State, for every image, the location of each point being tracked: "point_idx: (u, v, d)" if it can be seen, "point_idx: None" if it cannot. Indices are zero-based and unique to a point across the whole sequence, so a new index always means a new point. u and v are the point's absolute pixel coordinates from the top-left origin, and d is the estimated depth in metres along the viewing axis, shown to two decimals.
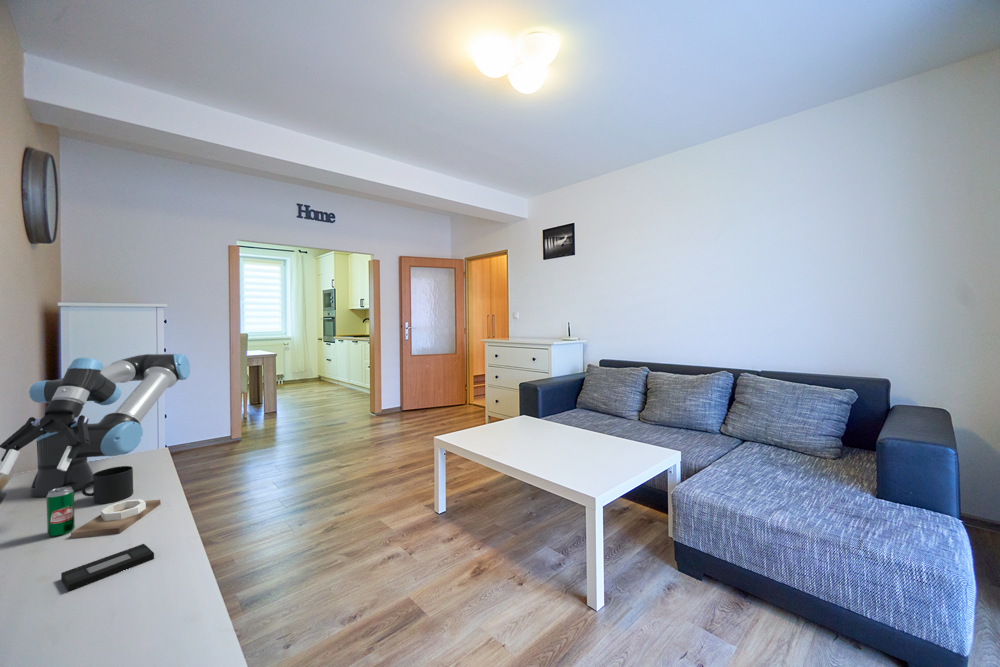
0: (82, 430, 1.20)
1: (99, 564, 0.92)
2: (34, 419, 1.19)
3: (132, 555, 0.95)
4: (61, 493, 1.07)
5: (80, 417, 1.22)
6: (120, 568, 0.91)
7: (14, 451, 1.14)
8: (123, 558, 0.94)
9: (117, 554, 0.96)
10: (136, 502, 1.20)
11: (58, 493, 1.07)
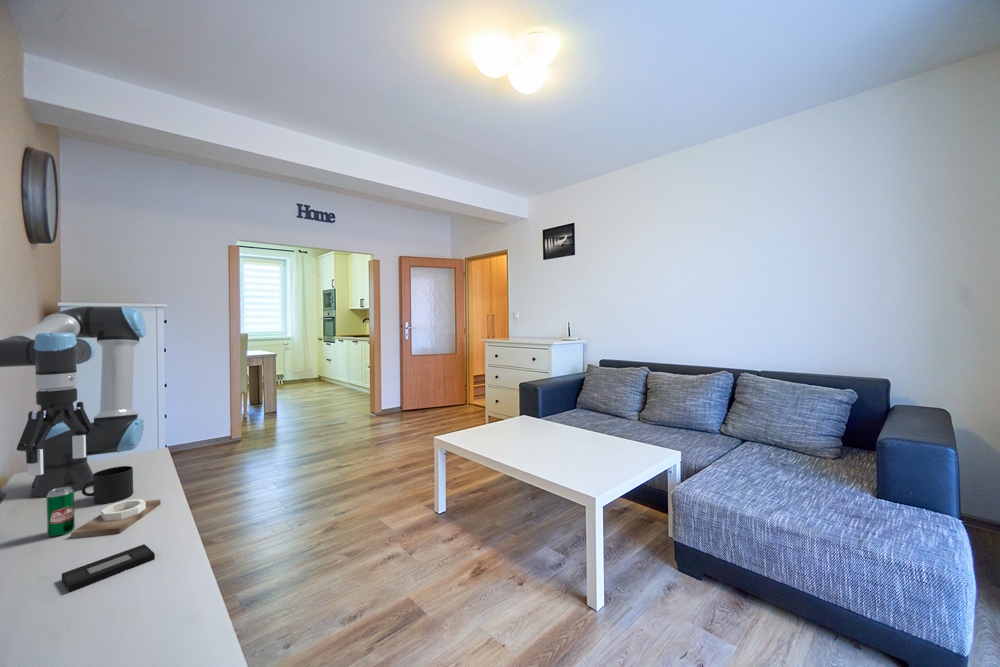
0: (87, 417, 1.16)
1: (99, 565, 0.92)
2: None
3: (132, 556, 0.95)
4: (61, 493, 1.07)
5: (81, 404, 1.14)
6: (121, 569, 0.91)
7: None
8: (124, 558, 0.94)
9: (118, 555, 0.95)
10: (136, 502, 1.20)
11: (58, 493, 1.07)
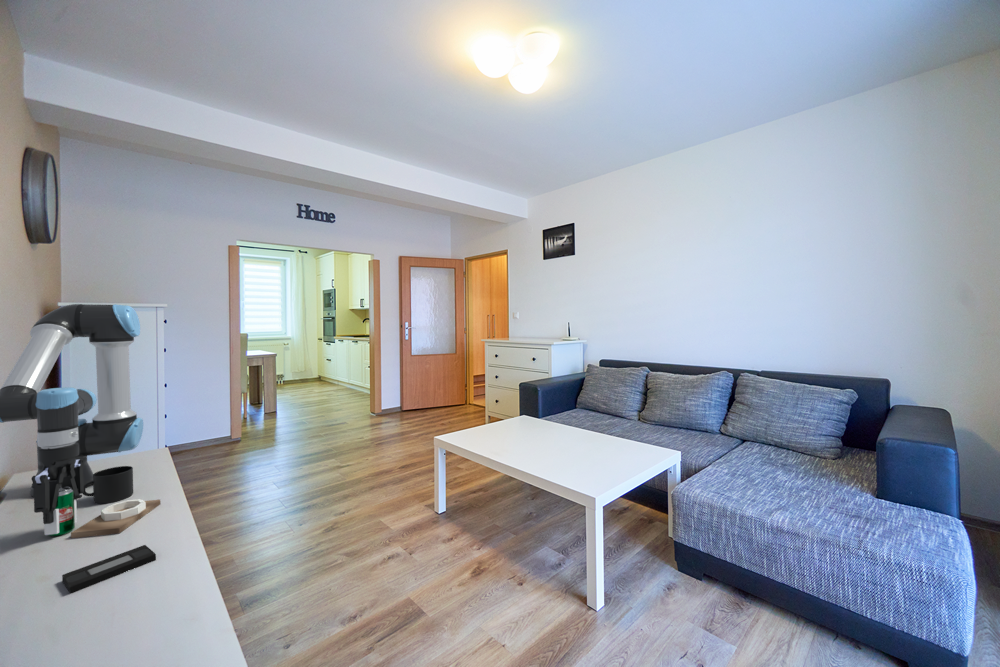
0: (82, 478, 1.14)
1: (100, 566, 0.91)
2: None
3: (133, 557, 0.95)
4: (61, 493, 1.07)
5: (82, 462, 1.14)
6: (122, 569, 0.91)
7: None
8: (125, 559, 0.94)
9: (118, 556, 0.95)
10: (136, 502, 1.20)
11: (58, 493, 1.07)
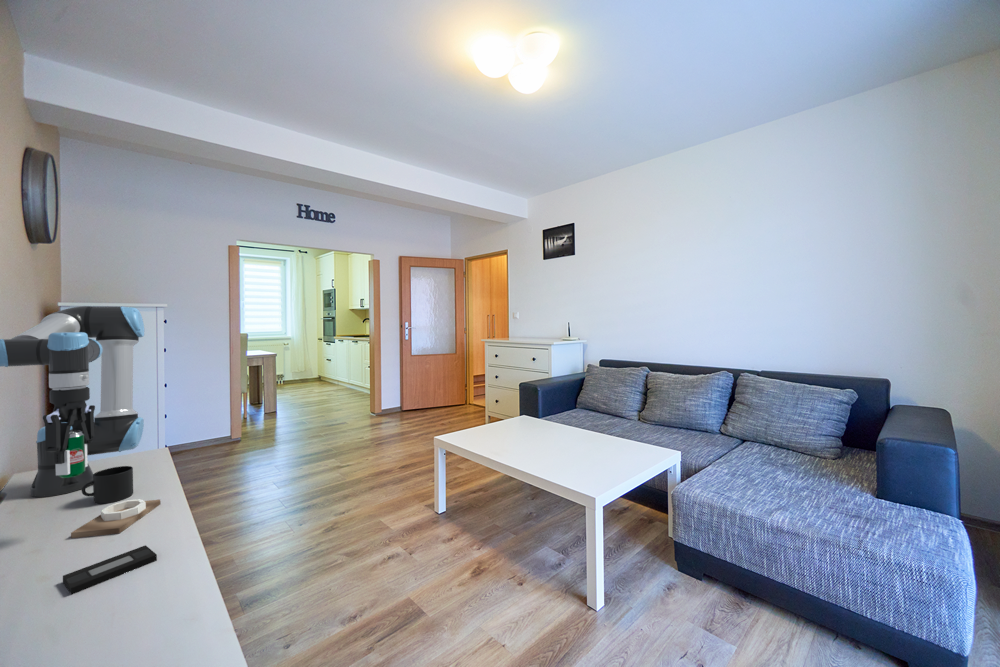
0: (93, 424, 1.15)
1: (100, 567, 0.91)
2: None
3: (134, 557, 0.95)
4: (72, 435, 1.08)
5: (93, 407, 1.15)
6: (123, 570, 0.91)
7: None
8: (125, 560, 0.94)
9: (119, 556, 0.95)
10: (136, 502, 1.20)
11: (69, 435, 1.08)
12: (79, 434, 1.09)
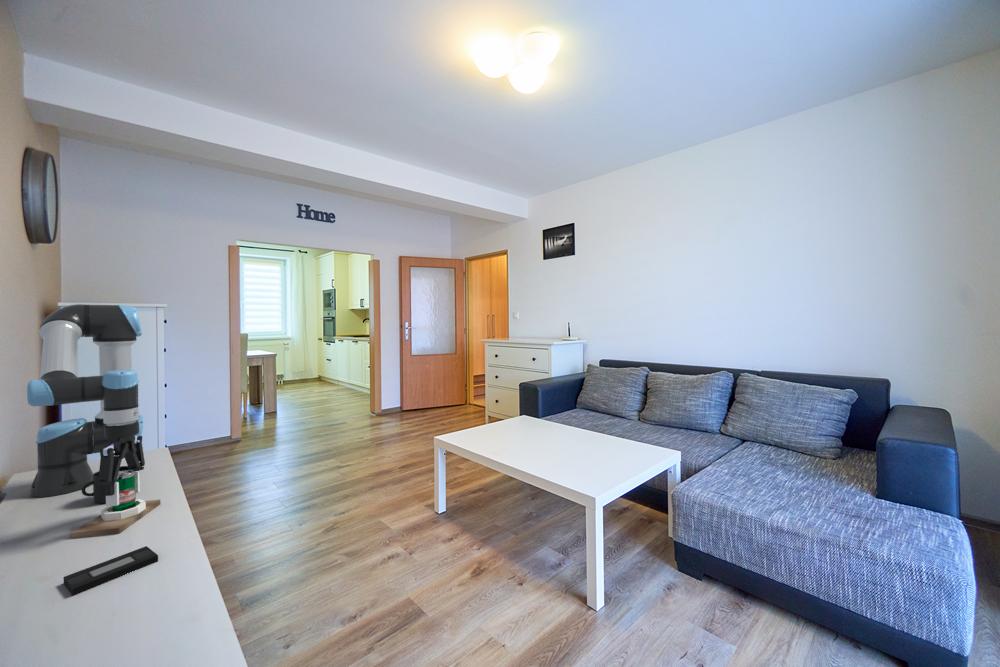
0: (142, 452, 1.23)
1: (102, 568, 0.91)
2: None
3: (135, 558, 0.94)
4: (125, 476, 1.15)
5: (141, 438, 1.22)
6: (124, 571, 0.90)
7: None
8: (127, 560, 0.93)
9: (120, 557, 0.94)
10: (136, 502, 1.20)
11: (123, 476, 1.15)
12: (132, 474, 1.17)
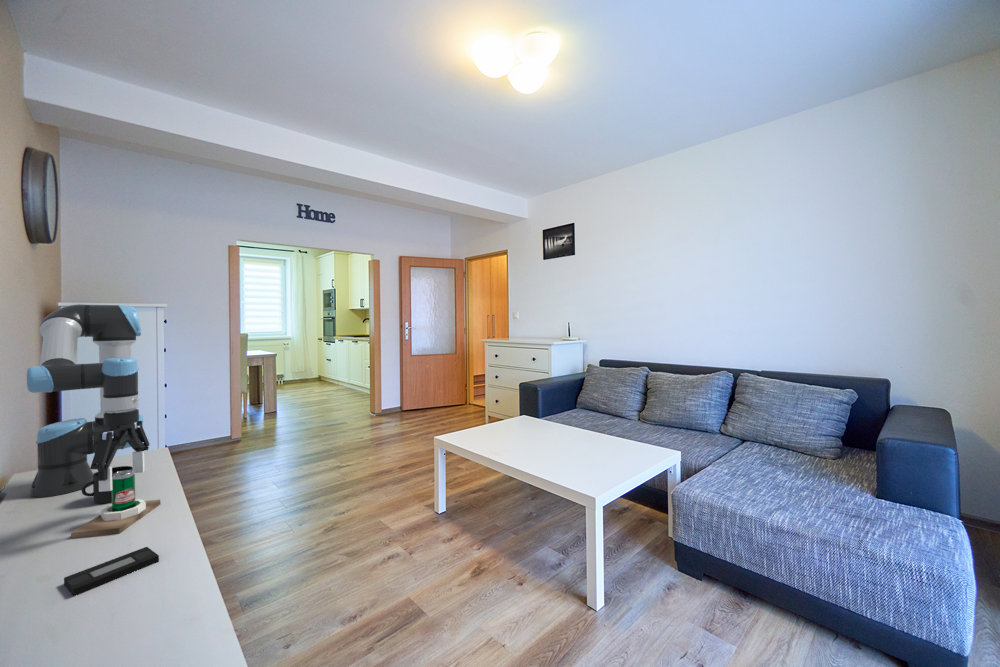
0: (145, 435, 1.25)
1: (102, 568, 0.90)
2: None
3: (136, 558, 0.94)
4: (124, 476, 1.15)
5: (140, 423, 1.22)
6: (125, 571, 0.90)
7: None
8: (127, 561, 0.93)
9: (120, 558, 0.94)
10: (136, 502, 1.20)
11: (121, 476, 1.15)
12: (130, 474, 1.17)
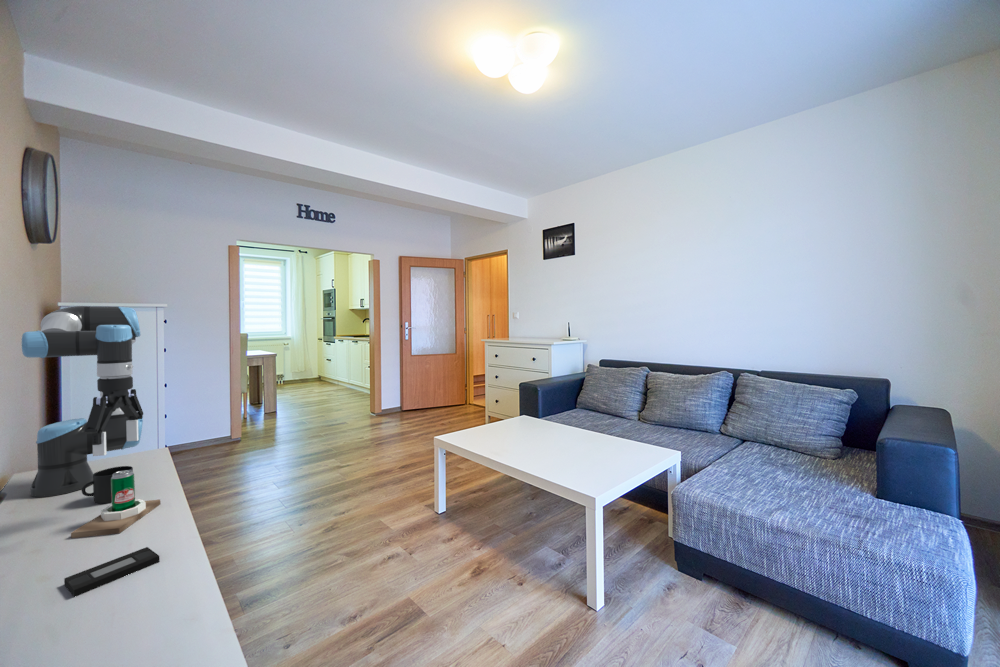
0: (139, 403, 1.25)
1: (103, 569, 0.90)
2: None
3: (136, 559, 0.94)
4: (123, 475, 1.15)
5: (134, 391, 1.23)
6: (126, 572, 0.90)
7: None
8: (128, 561, 0.93)
9: (121, 558, 0.94)
10: (136, 502, 1.20)
11: (121, 475, 1.15)
12: (130, 474, 1.17)
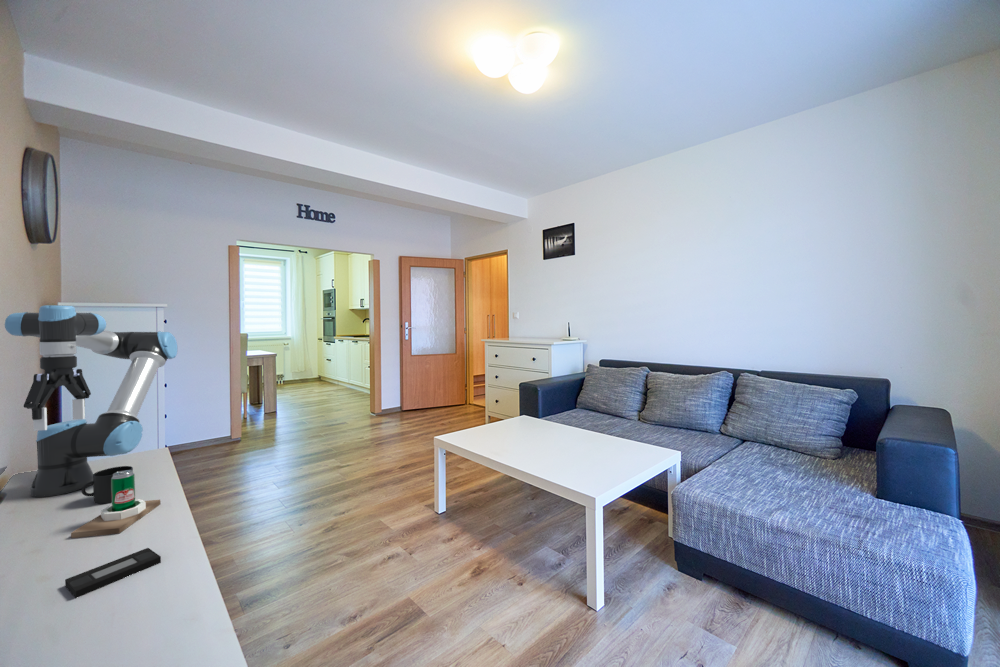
0: (85, 383, 1.29)
1: (104, 570, 0.90)
2: None
3: (138, 560, 0.94)
4: (124, 475, 1.15)
5: (80, 371, 1.27)
6: (127, 573, 0.90)
7: None
8: (129, 562, 0.93)
9: (122, 559, 0.94)
10: (136, 502, 1.20)
11: (121, 475, 1.15)
12: (130, 474, 1.17)
